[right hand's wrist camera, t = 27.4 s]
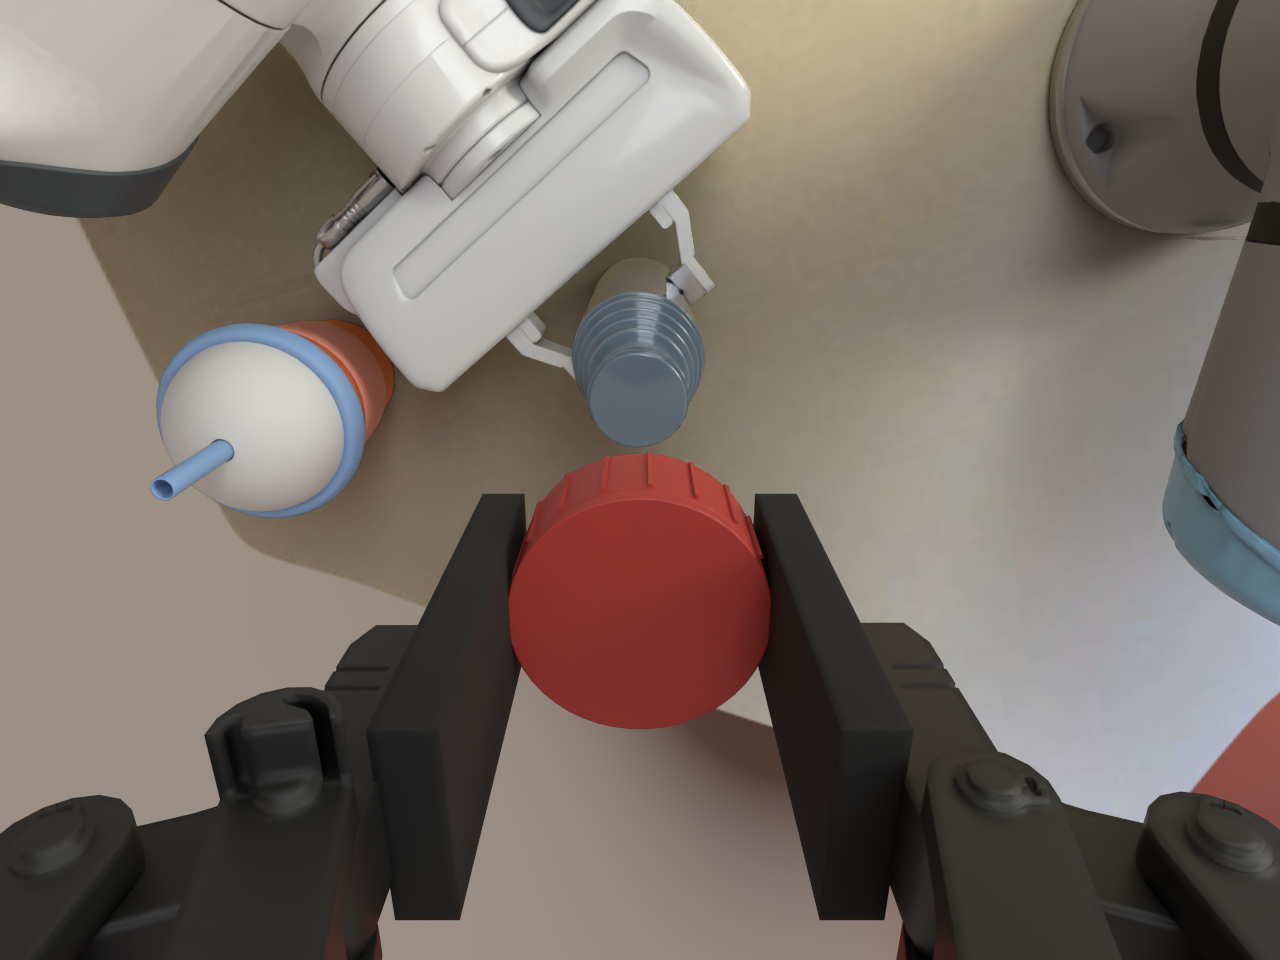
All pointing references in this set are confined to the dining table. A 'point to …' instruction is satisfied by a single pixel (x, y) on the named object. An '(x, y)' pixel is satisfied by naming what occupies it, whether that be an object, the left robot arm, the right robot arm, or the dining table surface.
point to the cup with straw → (271, 414)
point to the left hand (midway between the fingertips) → (651, 338)
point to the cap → (639, 593)
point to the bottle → (638, 353)
